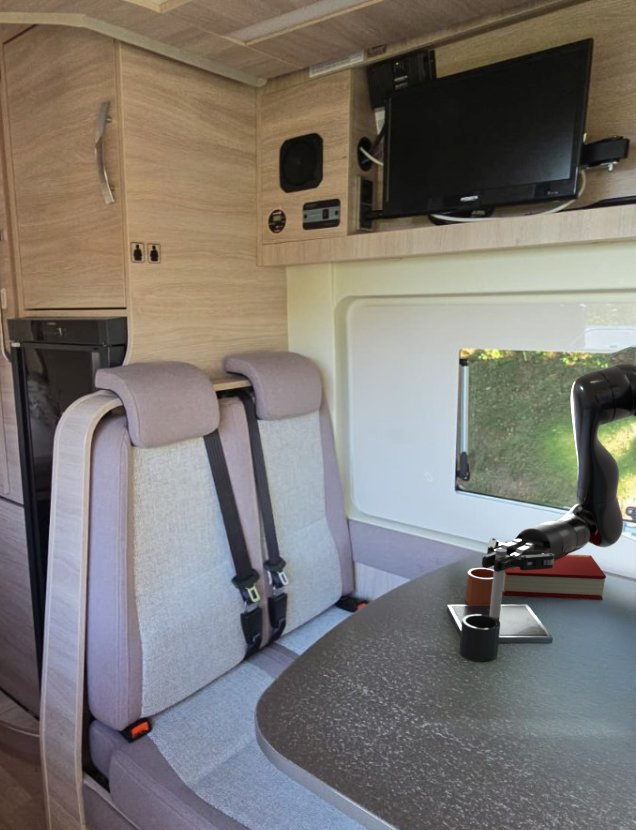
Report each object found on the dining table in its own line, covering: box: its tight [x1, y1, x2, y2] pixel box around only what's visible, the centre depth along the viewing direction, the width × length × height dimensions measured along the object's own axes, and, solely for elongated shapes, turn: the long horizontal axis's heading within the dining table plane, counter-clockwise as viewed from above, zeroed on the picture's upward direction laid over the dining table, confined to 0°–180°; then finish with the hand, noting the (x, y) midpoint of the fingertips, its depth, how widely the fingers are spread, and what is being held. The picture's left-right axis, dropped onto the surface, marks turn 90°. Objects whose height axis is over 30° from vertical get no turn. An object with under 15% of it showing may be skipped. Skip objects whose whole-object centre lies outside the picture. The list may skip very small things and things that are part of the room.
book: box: [502, 554, 607, 601], centre depth 148 cm, size 18×13×5 cm
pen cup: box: [464, 567, 494, 605], centre depth 142 cm, size 6×6×6 cm
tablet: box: [446, 604, 554, 644], centre depth 132 cm, size 15×14×1 cm
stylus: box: [489, 548, 507, 618], centre depth 131 cm, size 2×2×13 cm
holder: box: [459, 614, 500, 663], centre depth 122 cm, size 6×6×6 cm
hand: (490, 564), depth 128 cm, fingers closed on stylus, 2 cm apart
